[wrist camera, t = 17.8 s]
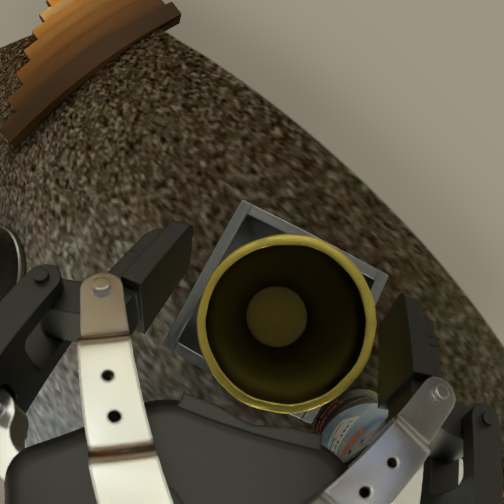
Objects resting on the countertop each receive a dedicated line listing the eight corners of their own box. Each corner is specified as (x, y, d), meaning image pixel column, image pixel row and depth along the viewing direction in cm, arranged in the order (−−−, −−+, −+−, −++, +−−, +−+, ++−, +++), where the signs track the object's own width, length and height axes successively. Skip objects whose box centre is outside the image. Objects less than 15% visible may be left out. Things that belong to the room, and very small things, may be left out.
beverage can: (327, 377, 22) (377, 432, 11) (410, 395, 22) (497, 443, 10) (299, 448, 21) (320, 541, 10) (381, 462, 21) (442, 540, 9)
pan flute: (18, 150, 28) (182, 25, 32) (3, 138, 25) (180, 6, 29) (-20, 69, 30) (99, -21, 34) (-30, 58, 27) (95, -34, 31)
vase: (276, 375, 22) (283, 464, 8) (216, 315, 23) (138, 319, 9) (336, 315, 22) (429, 319, 8) (277, 256, 23) (286, 176, 9)
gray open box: (186, 338, 23) (162, 345, 18) (248, 224, 25) (242, 199, 19) (302, 399, 22) (311, 424, 17) (363, 283, 23) (389, 274, 18)
